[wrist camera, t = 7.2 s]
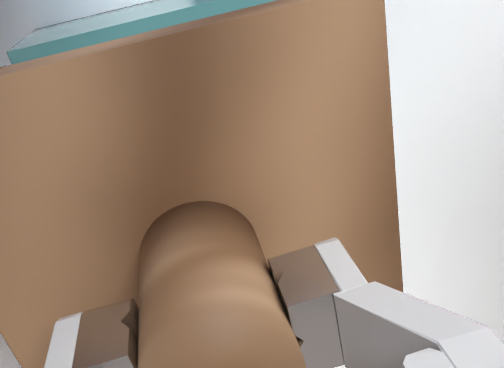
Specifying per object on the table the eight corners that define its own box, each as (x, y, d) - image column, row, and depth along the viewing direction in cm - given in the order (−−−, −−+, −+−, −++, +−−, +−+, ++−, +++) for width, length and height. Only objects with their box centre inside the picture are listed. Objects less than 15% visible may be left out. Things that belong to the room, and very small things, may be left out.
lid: (363, -21, 10) (522, 3, 6) (391, 318, 15) (492, 470, 11) (-111, 94, 10) (-329, 220, 5) (74, 414, 14) (42, 624, 10)
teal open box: (255, -25, 20) (282, -16, 16) (291, 168, 24) (319, 212, 20) (36, 29, 19) (6, 52, 15) (113, 217, 23) (106, 273, 19)
